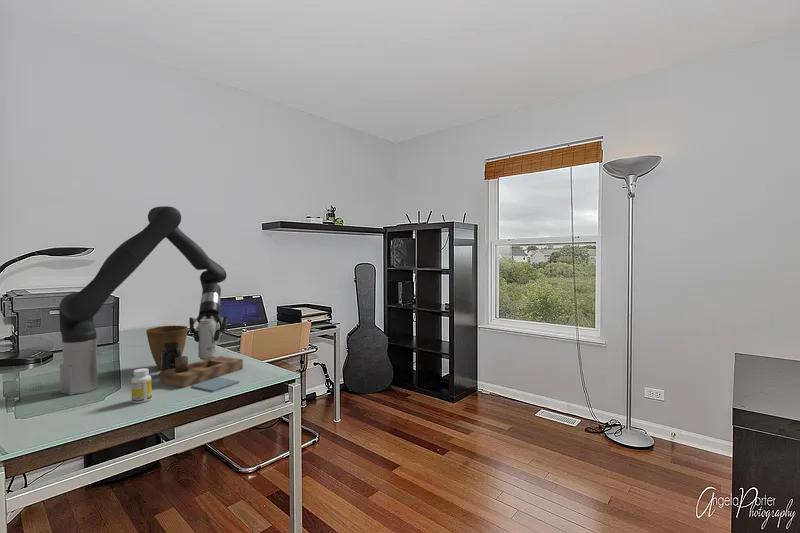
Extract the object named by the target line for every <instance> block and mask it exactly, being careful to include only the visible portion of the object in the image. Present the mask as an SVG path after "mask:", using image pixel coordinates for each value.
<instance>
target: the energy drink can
mask: <svg viewBox="0 0 800 533" xmlns="http://www.w3.org/2000/svg"><path fill="white" fill-rule="evenodd" d="M197 326H198V342H197V343H198V352H197V354H198V358H199V360H200V361H203V360H210V359H213V358H214V357H216V355H217V354H216V353H217V352H216V351H217V350H216V342H217V341H215V331H216V324H215V322H214V319H202V320H200V323H198V324H197Z"/></svg>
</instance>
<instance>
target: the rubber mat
mask: <svg viewBox="0 0 800 533" xmlns="http://www.w3.org/2000/svg"><path fill="white" fill-rule="evenodd" d="M237 384H240V381H239V380H234V379H229V378H225V377H216V378H213V379H210V380H207V381H204V382H201V383H197V384H194V385H191V388H192V387H193V389H196V388H197V390H200V391H207V392H211V393H214V392H218V391H220V390H223V389H227V388H229V387H232V386H234V385H237ZM217 390H218V391H217Z"/></svg>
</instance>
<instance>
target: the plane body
mask: <svg viewBox="0 0 800 533" xmlns="http://www.w3.org/2000/svg"><path fill="white" fill-rule="evenodd" d="M188 358H189V356H188V355H182V356H180V357H176V358H175V368H172V369H168V370H165V371H161V370H160V371H159V384H164V385H169V386H172V385H173V387H177V386H178V387H179V388H182V387H183V388H182V389H184V387H185V388H188V387H190V386H192V385H195V384H198V383H200V382H205V381H208V380H211V379H214V378H217V377H219V376H220V377H223V376H225V374H226V375H229V374H232V373H235V372H238V371H241V369H242V370H243V369H244V368H243V365H244V364H243V363H244V362H243V359H242V358H236V357H231V356H230V357H229V356H223V355H218V356H214V358H213V359H210V360H200V361H196V362H192V363H189V362H188V361H189V359H188ZM237 370H238V371H237ZM234 371H235V372H234ZM231 372H232V373H231ZM228 373H229V374H228ZM222 375H223V376H222ZM220 377H219V378H220ZM187 386H188V387H187Z"/></svg>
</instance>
